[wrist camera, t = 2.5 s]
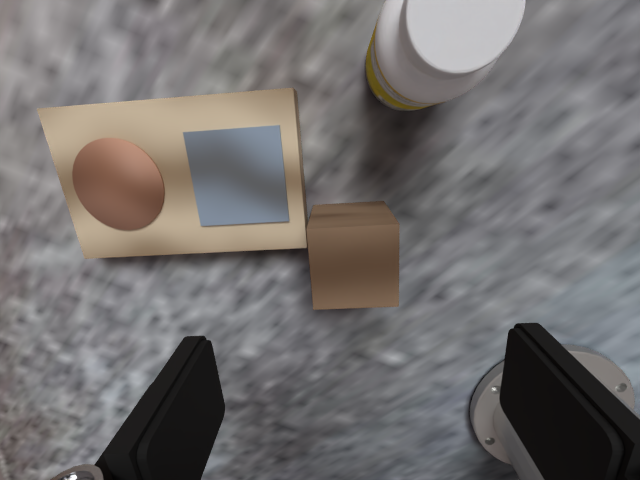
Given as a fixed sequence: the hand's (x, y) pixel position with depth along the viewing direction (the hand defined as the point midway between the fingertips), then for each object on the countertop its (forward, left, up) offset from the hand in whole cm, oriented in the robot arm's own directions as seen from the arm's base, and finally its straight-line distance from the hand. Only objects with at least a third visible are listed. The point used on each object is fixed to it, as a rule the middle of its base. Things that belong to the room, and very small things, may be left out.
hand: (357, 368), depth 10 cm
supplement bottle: (+11, -4, -15) cm, 19 cm away
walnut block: (0, 0, -14) cm, 14 cm away
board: (+5, +11, -14) cm, 18 cm away
